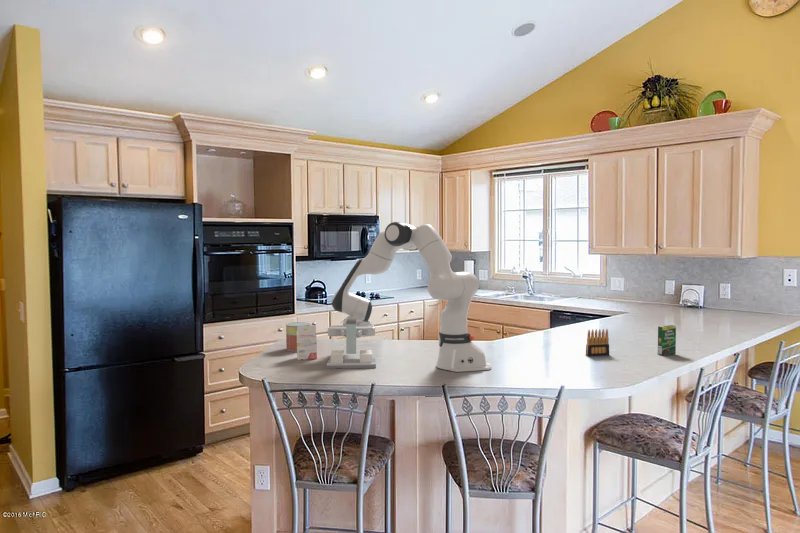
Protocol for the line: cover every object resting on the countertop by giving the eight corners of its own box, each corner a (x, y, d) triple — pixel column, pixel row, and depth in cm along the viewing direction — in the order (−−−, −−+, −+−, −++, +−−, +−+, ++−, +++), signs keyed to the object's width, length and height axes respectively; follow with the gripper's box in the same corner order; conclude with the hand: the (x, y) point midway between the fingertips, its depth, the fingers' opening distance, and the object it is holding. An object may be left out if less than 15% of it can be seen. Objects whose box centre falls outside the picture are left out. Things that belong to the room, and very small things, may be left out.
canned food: (312, 346, 276) (312, 322, 275) (306, 351, 265) (306, 326, 264) (290, 346, 277) (289, 322, 277) (283, 351, 266) (282, 325, 265)
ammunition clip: (587, 356, 255) (588, 329, 254) (585, 355, 256) (586, 329, 256) (609, 355, 257) (610, 329, 256) (607, 354, 259) (607, 328, 258)
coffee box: (661, 355, 256) (662, 326, 255) (656, 354, 259) (657, 325, 258) (676, 354, 258) (676, 325, 258) (671, 353, 261) (672, 324, 260)
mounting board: (375, 361, 245) (375, 349, 245) (375, 367, 234) (375, 355, 233) (328, 361, 244) (328, 349, 244) (326, 368, 232) (326, 356, 232)
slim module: (356, 351, 241) (356, 318, 240) (356, 353, 237) (356, 320, 236) (346, 351, 241) (346, 318, 240) (346, 353, 237) (346, 320, 236)
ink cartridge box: (316, 356, 255) (316, 323, 254) (316, 359, 250) (316, 325, 249) (296, 357, 253) (296, 324, 252) (297, 359, 248) (296, 326, 247)
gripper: (328, 321, 251) (326, 327, 237) (374, 321, 252) (375, 326, 238) (328, 335, 251) (326, 342, 237) (374, 335, 252) (375, 341, 239)
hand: (351, 334), depth 238 cm, fingers closed on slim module, 4 cm apart
